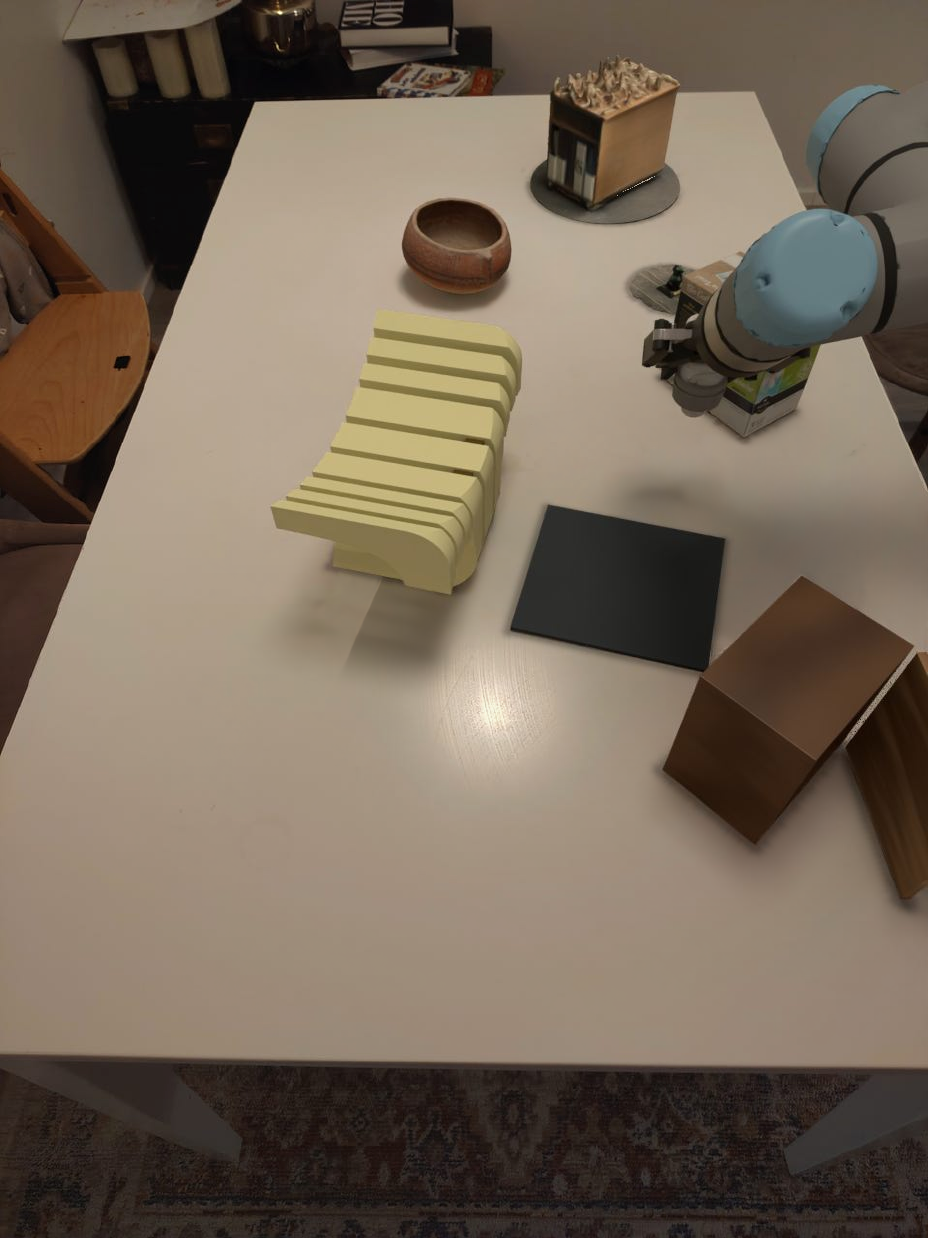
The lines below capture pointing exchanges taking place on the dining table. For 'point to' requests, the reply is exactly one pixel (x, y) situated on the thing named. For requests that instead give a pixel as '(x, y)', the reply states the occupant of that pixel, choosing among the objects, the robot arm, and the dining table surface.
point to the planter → (609, 145)
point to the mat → (623, 587)
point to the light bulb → (697, 387)
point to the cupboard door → (898, 774)
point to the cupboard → (780, 705)
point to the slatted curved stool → (415, 453)
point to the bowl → (457, 245)
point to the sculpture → (660, 286)
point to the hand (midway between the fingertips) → (695, 368)
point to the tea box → (743, 400)
